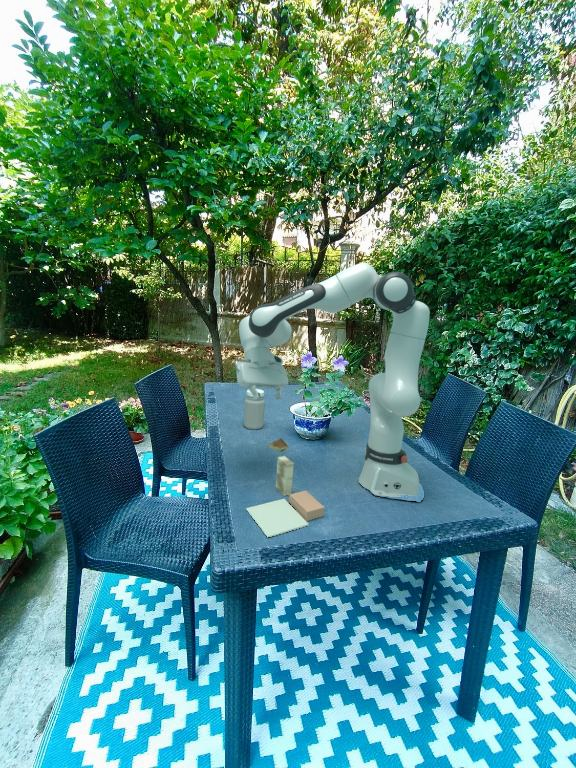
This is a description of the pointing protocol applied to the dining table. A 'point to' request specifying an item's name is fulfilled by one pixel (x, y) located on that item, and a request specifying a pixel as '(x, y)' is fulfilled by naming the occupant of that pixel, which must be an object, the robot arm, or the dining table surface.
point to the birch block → (284, 475)
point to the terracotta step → (306, 505)
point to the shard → (278, 445)
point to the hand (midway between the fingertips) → (268, 398)
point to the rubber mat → (276, 517)
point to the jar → (254, 411)
